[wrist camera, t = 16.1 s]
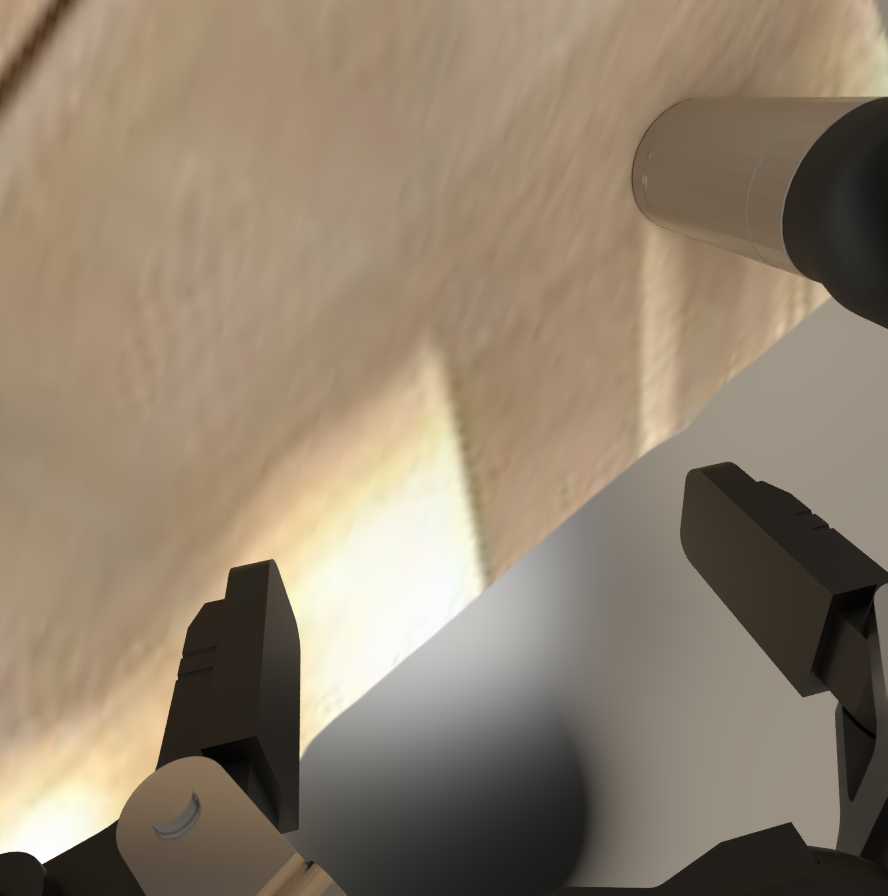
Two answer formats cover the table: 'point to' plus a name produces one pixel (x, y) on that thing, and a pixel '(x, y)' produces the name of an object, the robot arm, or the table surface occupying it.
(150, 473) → the table surface
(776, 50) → the table surface
